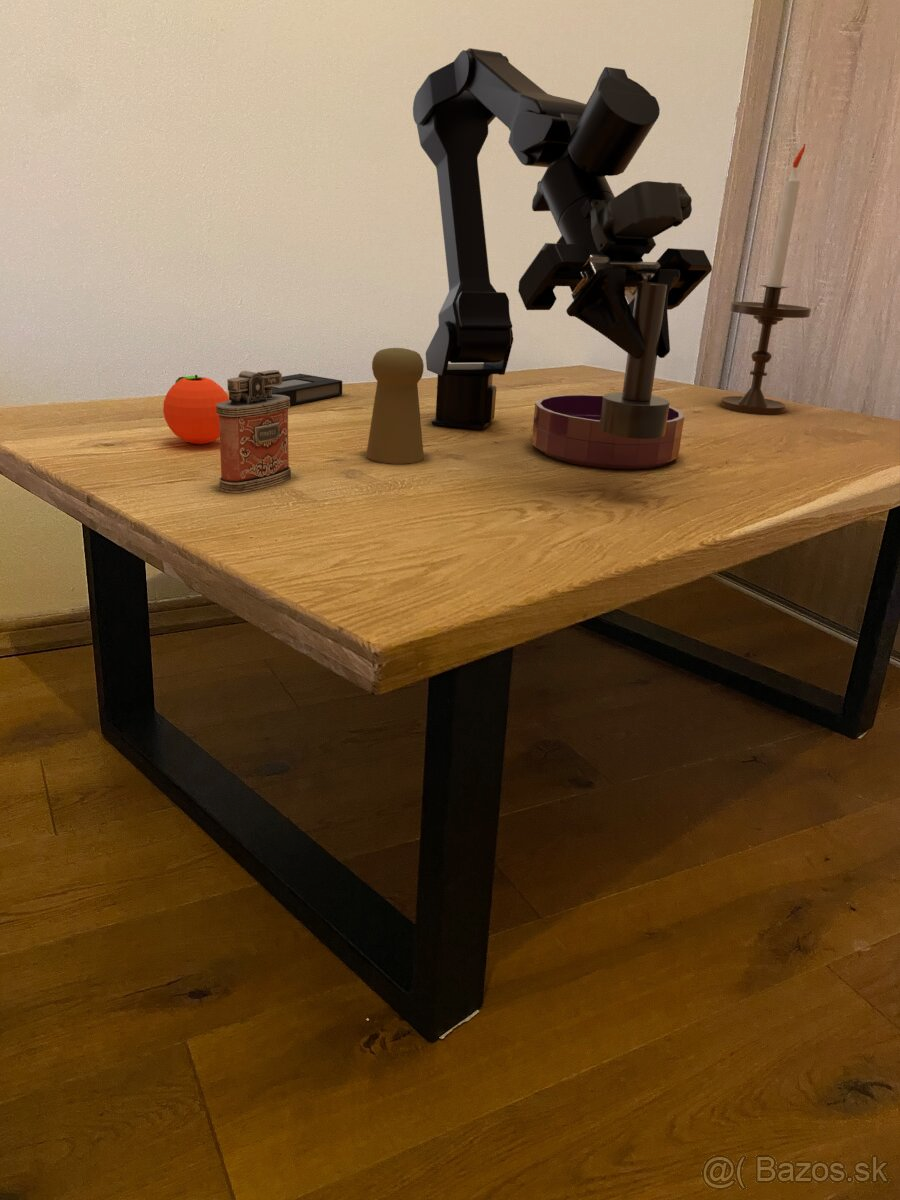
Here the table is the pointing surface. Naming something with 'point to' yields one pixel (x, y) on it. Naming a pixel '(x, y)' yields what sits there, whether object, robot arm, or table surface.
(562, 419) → the bowl
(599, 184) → the robot arm
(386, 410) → the cork
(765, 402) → the candlestick
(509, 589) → the table surface
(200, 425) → the clementine
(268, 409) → the lighter
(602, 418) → the bolt
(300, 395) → the vhs tape
